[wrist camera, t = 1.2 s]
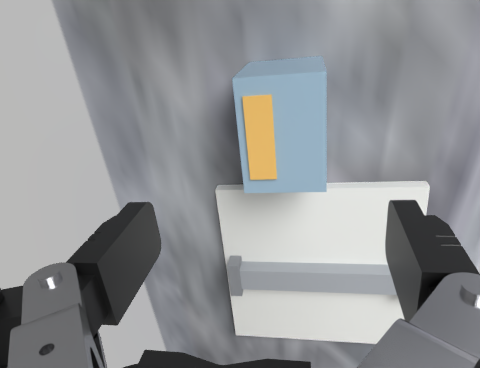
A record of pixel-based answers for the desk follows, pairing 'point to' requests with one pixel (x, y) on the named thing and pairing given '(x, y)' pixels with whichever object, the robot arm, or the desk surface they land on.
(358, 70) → the desk surface
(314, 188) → the block
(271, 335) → the rail plate
